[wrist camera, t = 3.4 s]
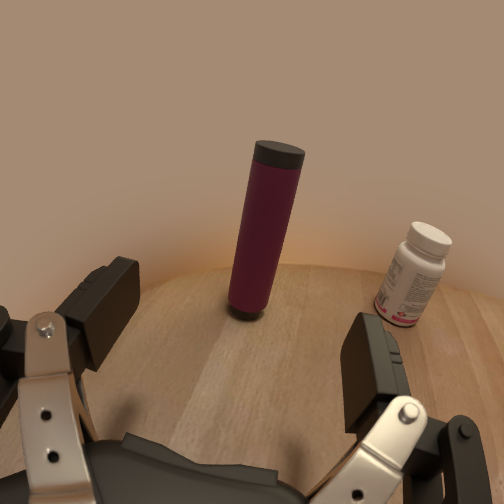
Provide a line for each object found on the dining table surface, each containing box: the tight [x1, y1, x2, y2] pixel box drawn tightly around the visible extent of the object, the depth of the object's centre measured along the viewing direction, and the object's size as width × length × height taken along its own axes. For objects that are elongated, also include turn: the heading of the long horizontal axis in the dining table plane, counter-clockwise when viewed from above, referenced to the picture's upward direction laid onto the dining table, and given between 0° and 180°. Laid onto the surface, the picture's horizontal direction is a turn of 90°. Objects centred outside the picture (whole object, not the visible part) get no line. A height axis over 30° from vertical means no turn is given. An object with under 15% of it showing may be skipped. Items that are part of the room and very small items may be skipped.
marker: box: [228, 140, 305, 320], centre depth 21 cm, size 3×3×12 cm
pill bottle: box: [375, 222, 452, 326], centre depth 25 cm, size 5×5×8 cm
